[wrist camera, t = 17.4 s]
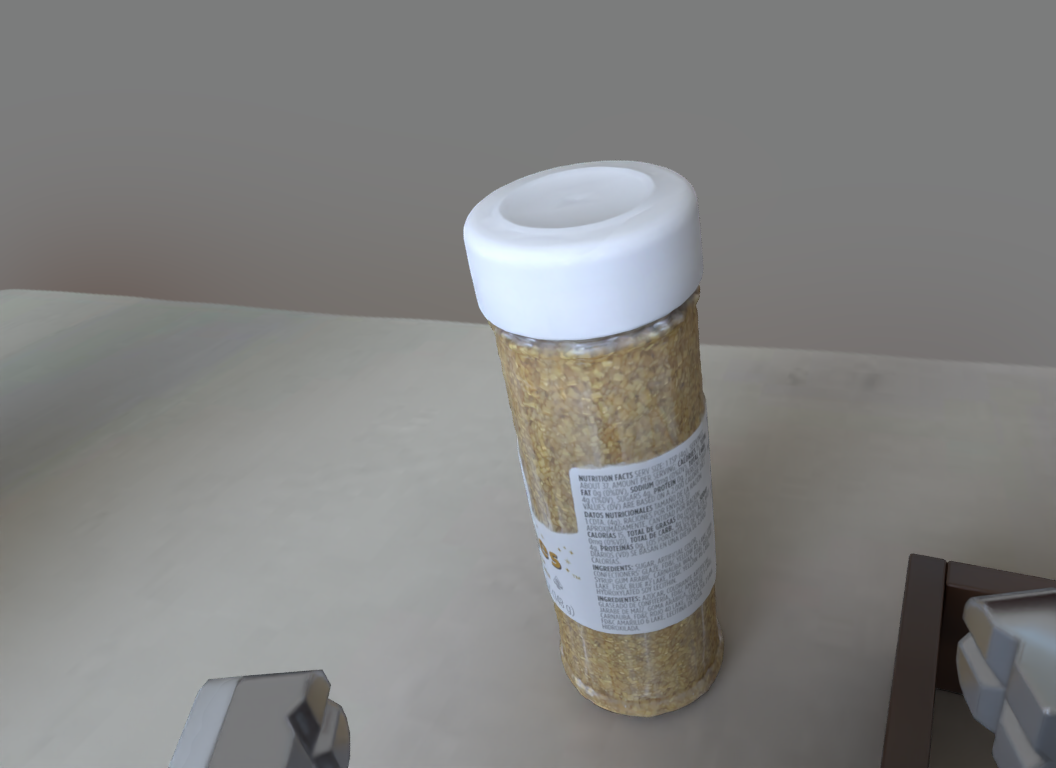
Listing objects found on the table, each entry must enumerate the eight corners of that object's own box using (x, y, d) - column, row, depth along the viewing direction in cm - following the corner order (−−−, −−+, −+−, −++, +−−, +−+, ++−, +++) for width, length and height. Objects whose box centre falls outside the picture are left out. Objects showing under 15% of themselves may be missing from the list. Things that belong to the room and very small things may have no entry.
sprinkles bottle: (553, 606, 25) (455, 179, 18) (701, 577, 25) (665, 137, 18) (575, 742, 21) (460, 268, 14) (751, 709, 21) (729, 213, 14)
